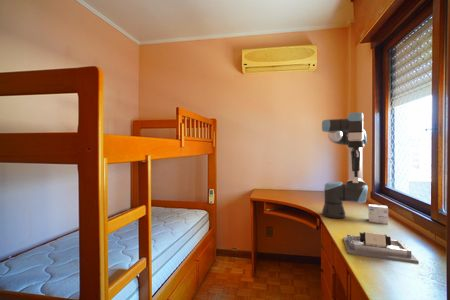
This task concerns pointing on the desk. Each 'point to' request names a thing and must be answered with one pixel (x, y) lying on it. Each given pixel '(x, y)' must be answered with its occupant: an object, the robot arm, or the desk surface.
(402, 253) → the shallow rectangular tray
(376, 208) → the light bulb box
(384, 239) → the pneumatic valve
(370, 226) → the desk surface
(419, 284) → the desk surface
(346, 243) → the mounting board
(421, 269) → the desk surface
